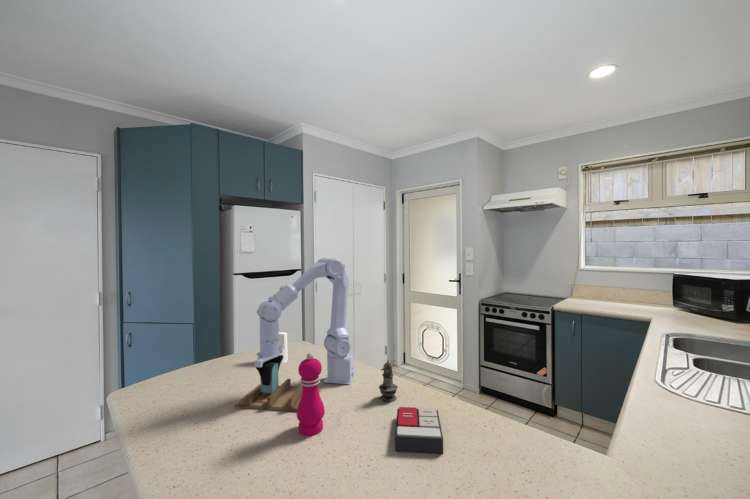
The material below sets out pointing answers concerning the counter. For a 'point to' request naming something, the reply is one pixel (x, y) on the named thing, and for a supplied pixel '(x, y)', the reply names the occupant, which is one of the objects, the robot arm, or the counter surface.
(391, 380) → the dark grey tall piece
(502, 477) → the counter surface
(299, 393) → the slot rack
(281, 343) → the cylinder with rectangular tab
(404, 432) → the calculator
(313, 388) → the pepper mill
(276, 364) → the plug block
